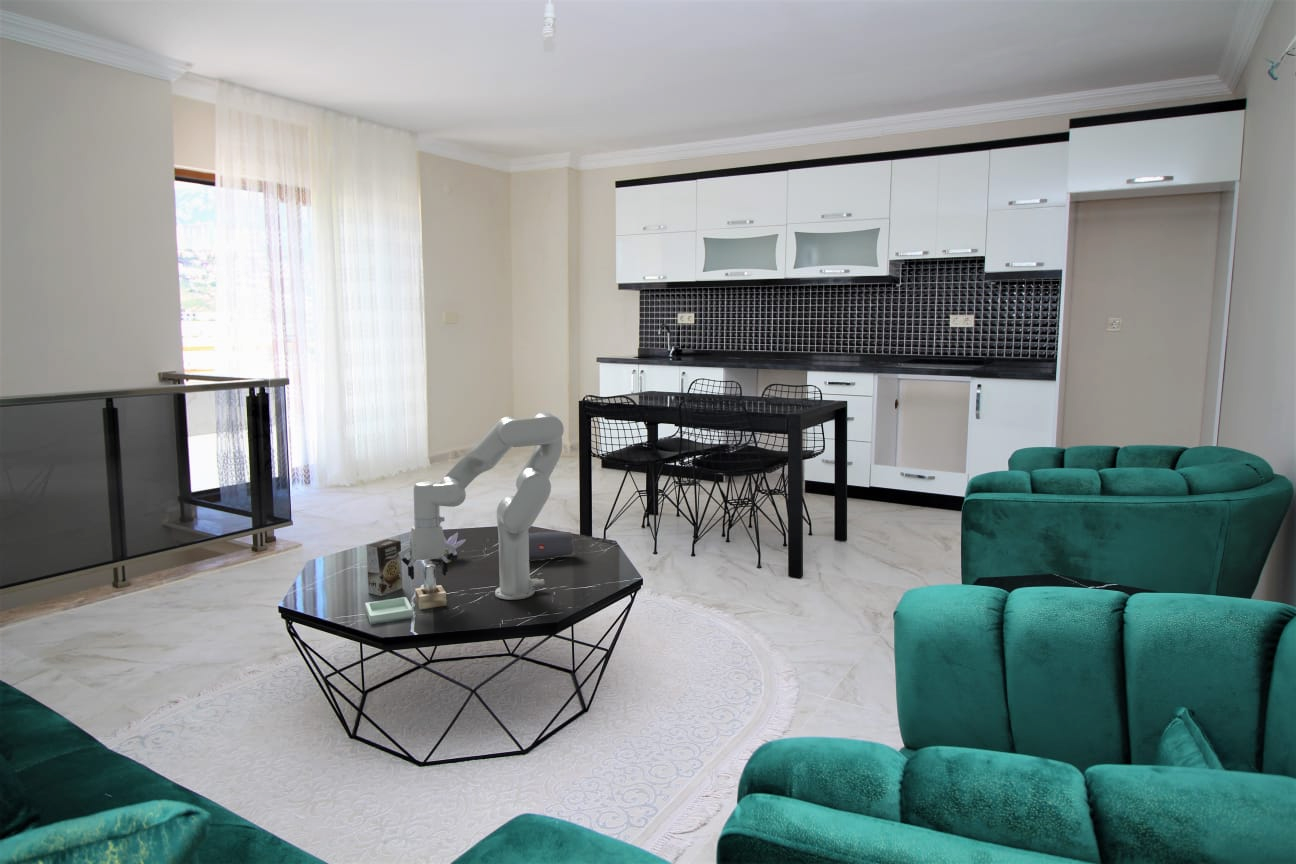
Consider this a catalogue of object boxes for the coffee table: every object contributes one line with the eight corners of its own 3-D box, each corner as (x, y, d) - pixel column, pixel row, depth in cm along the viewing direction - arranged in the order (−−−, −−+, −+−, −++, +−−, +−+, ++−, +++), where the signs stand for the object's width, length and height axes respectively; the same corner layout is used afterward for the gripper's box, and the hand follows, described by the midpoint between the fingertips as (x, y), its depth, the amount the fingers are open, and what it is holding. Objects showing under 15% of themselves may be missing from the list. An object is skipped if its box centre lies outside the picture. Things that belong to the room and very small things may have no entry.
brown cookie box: (382, 596, 251) (379, 547, 249) (367, 593, 254) (365, 544, 252) (403, 588, 259) (401, 540, 257) (389, 585, 262) (387, 538, 260)
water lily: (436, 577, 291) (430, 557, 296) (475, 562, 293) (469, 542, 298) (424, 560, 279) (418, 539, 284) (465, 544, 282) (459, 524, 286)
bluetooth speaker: (510, 565, 283) (509, 538, 282) (508, 557, 292) (507, 531, 291) (573, 560, 289) (572, 534, 287) (569, 553, 298) (569, 527, 296)
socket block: (441, 597, 250) (440, 585, 250) (446, 605, 243) (446, 592, 243) (415, 601, 247) (414, 588, 246) (419, 609, 240) (419, 596, 239)
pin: (435, 600, 248) (434, 563, 246) (437, 604, 244) (436, 566, 243) (423, 602, 246) (422, 565, 244) (426, 606, 243) (424, 568, 241)
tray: (406, 604, 244) (406, 596, 244) (413, 617, 233) (412, 609, 233) (365, 610, 239) (365, 602, 238) (370, 624, 228) (369, 616, 228)
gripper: (452, 517, 249) (453, 569, 251) (395, 521, 241) (397, 576, 243) (458, 522, 242) (458, 576, 244) (399, 527, 234) (400, 583, 237)
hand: (428, 576), depth 244 cm, fingers open, 9 cm apart
